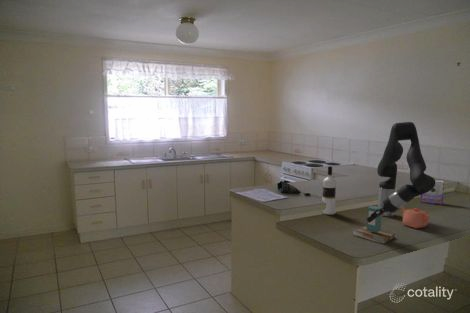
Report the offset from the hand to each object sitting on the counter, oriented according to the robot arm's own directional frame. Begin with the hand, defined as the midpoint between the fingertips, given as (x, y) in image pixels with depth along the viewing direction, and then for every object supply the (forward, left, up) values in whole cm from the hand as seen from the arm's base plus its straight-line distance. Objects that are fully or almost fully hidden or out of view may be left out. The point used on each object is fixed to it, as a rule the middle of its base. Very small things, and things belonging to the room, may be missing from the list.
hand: (370, 219), depth 177 cm
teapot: (-35, +9, -9) cm, 37 cm away
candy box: (-98, -2, -9) cm, 98 cm away
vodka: (-20, -37, -9) cm, 43 cm away
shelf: (-1, +2, -9) cm, 9 cm away
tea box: (0, +2, -5) cm, 6 cm away
